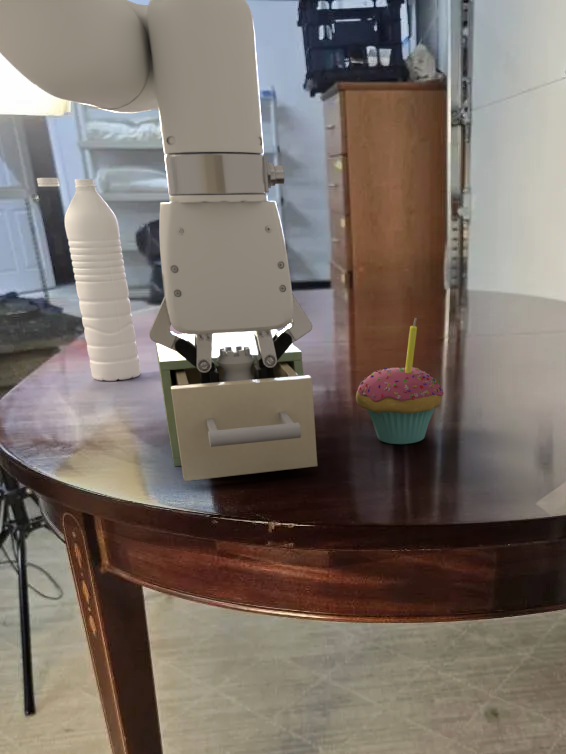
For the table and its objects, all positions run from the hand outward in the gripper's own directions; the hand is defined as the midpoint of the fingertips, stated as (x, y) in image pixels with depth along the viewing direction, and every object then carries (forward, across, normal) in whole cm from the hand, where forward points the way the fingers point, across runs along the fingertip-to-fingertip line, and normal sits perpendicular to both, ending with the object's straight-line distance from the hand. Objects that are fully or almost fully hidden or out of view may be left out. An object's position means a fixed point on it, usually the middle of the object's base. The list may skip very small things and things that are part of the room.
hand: (240, 410), depth 68 cm
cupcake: (+6, -16, -5) cm, 18 cm away
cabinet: (+6, 0, -11) cm, 12 cm away
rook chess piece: (+3, 0, 0) cm, 3 cm away
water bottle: (+6, +13, -47) cm, 49 cm away
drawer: (+5, 0, 0) cm, 5 cm away
